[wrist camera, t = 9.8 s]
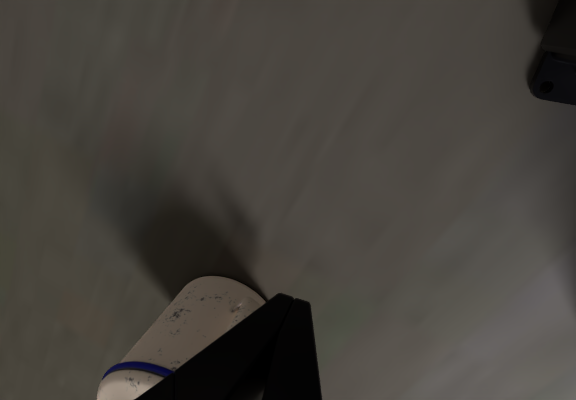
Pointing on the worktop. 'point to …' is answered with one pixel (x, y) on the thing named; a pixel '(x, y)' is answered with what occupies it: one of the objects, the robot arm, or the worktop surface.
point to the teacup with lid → (180, 334)
